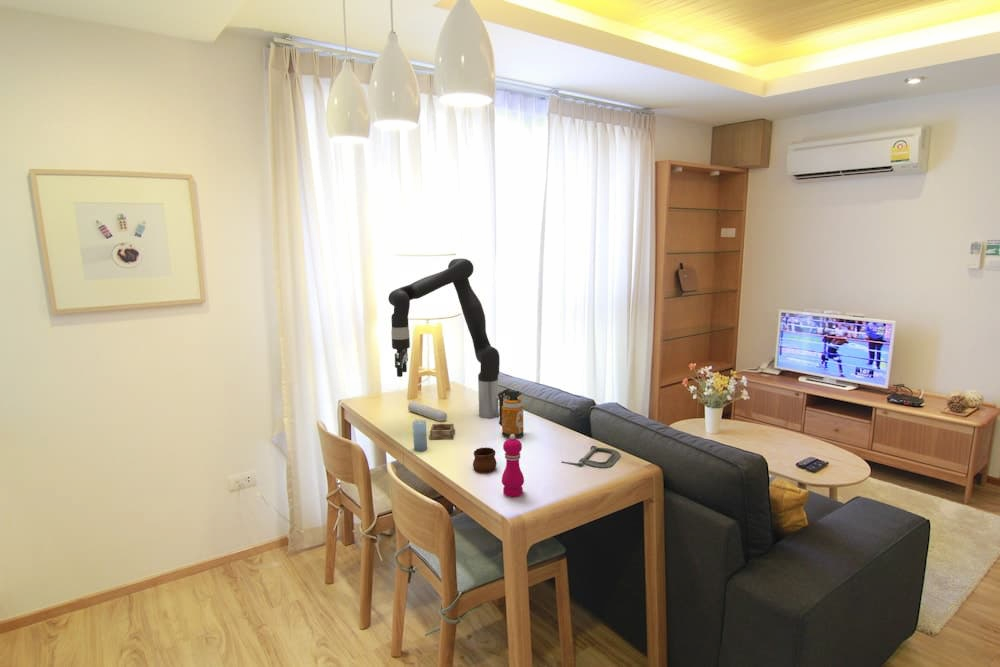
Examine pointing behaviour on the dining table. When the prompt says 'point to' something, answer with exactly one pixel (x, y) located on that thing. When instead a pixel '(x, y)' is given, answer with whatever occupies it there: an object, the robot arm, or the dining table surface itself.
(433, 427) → the holder
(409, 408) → the tube
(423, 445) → the roll
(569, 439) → the dining table surface
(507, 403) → the canister
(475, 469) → the ceramic pot
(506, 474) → the pepper mill
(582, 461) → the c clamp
